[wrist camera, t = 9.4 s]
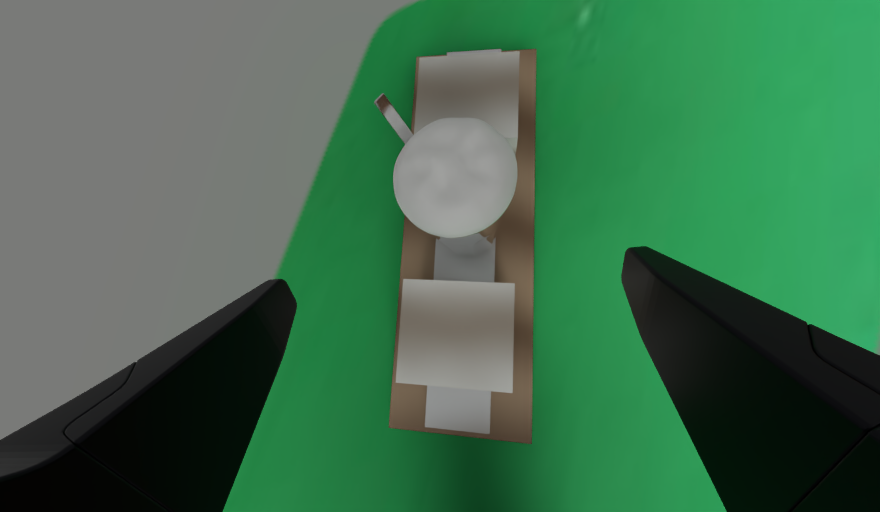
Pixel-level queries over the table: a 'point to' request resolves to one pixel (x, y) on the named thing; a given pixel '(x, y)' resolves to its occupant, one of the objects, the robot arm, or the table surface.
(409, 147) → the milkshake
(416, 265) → the wooden board with pads
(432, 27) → the table surface
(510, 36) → the table surface
